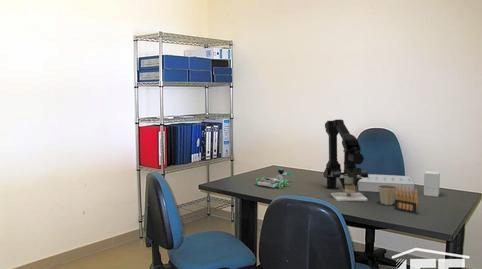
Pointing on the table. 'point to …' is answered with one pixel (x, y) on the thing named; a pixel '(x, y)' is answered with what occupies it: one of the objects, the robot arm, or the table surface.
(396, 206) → the ammunition clip
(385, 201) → the flower pot
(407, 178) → the warehouse
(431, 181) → the supplement box
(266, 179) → the robot kit
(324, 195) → the table surface
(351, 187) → the jaw block
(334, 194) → the jaw base
